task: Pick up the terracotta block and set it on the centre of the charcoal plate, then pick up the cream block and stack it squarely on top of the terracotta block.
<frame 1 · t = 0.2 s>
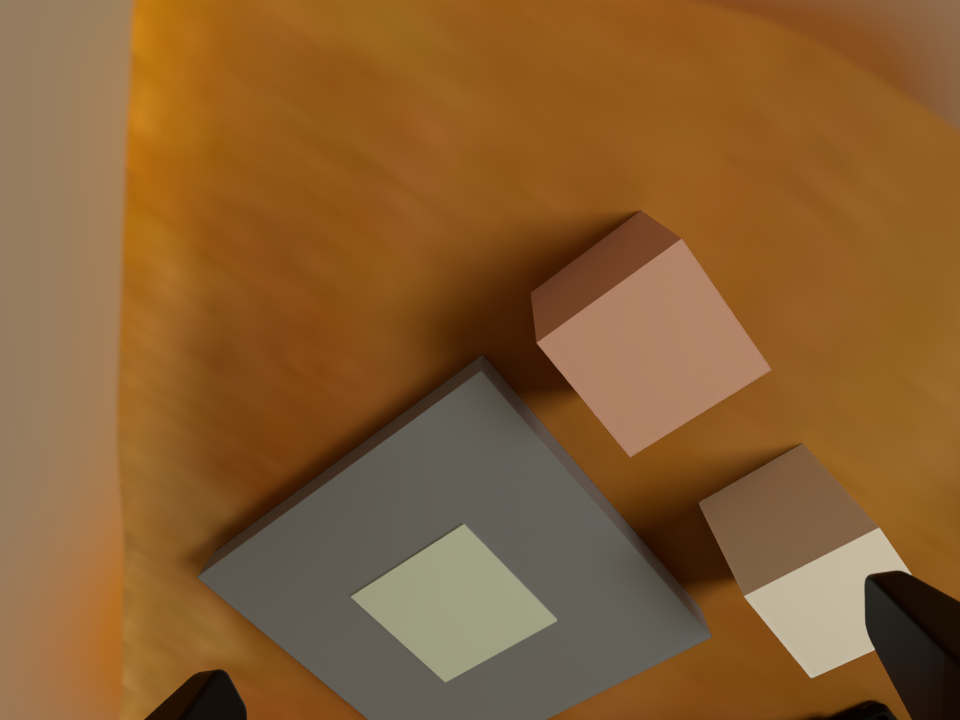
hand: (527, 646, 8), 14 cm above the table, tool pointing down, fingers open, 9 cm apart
cream block: (777, 511, 23), on the table
charcoal plate: (457, 580, 25), on the table
terracotta block: (621, 302, 20), on the table
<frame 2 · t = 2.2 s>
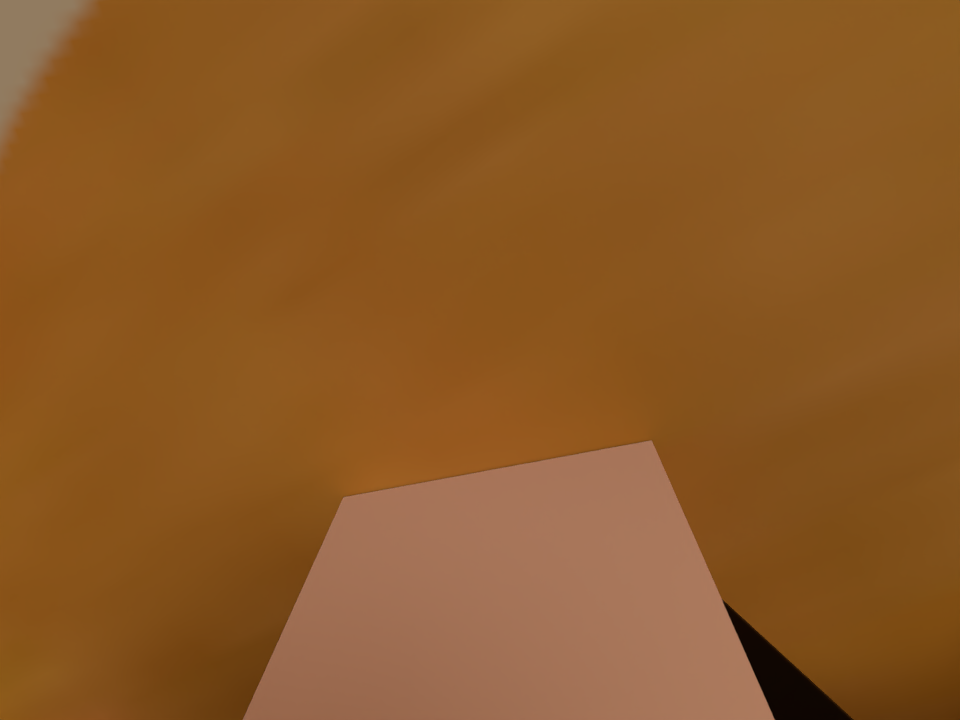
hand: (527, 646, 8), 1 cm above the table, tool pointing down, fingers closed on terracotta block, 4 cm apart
terracotta block: (525, 591, 9), on the table, touching gripper
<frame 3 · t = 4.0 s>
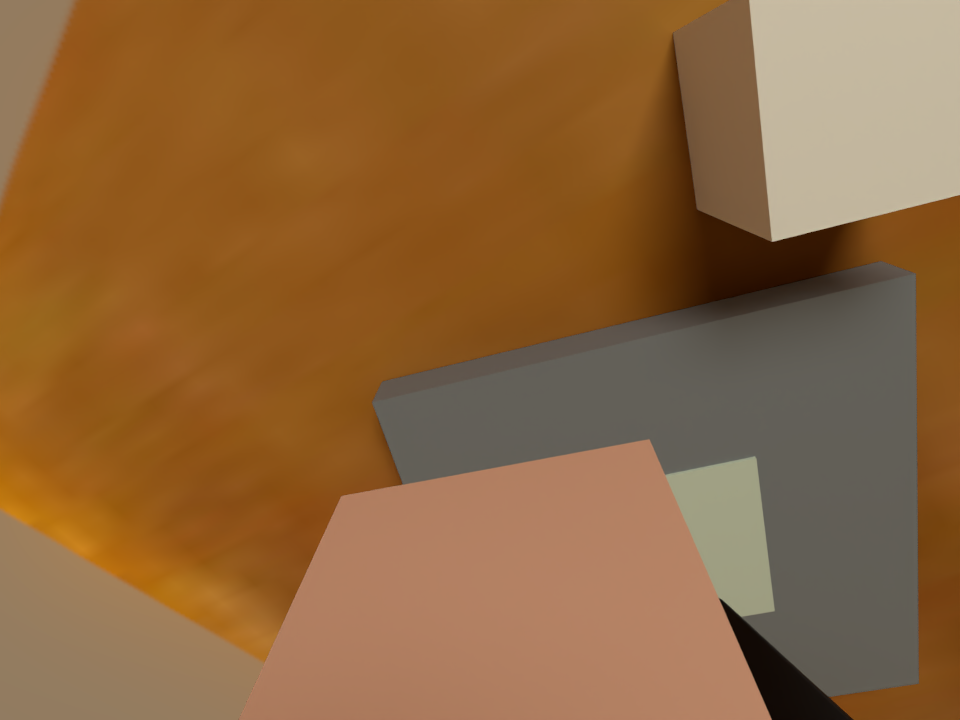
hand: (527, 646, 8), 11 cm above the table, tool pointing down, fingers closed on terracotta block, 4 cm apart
cream block: (772, 101, 15), on the table
charcoal plate: (657, 525, 20), on the table
terracotta block: (523, 590, 9), point 10 cm above the table, touching gripper
when the fingers open (4 cm above the table, at t = 6.2 s): terracotta block drops 1 cm, resting on charcoal plate.
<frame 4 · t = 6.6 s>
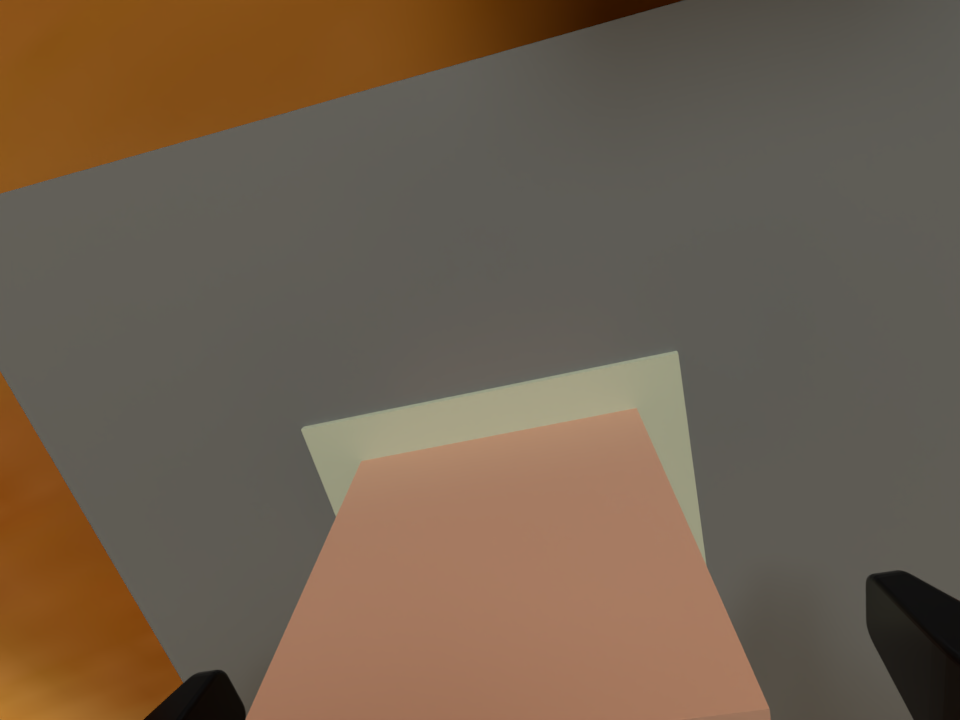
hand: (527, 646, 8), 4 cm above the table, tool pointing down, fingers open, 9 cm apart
charcoal plate: (521, 493, 12), on the table
terracotta block: (524, 547, 10), point 2 cm above the table, touching charcoal plate
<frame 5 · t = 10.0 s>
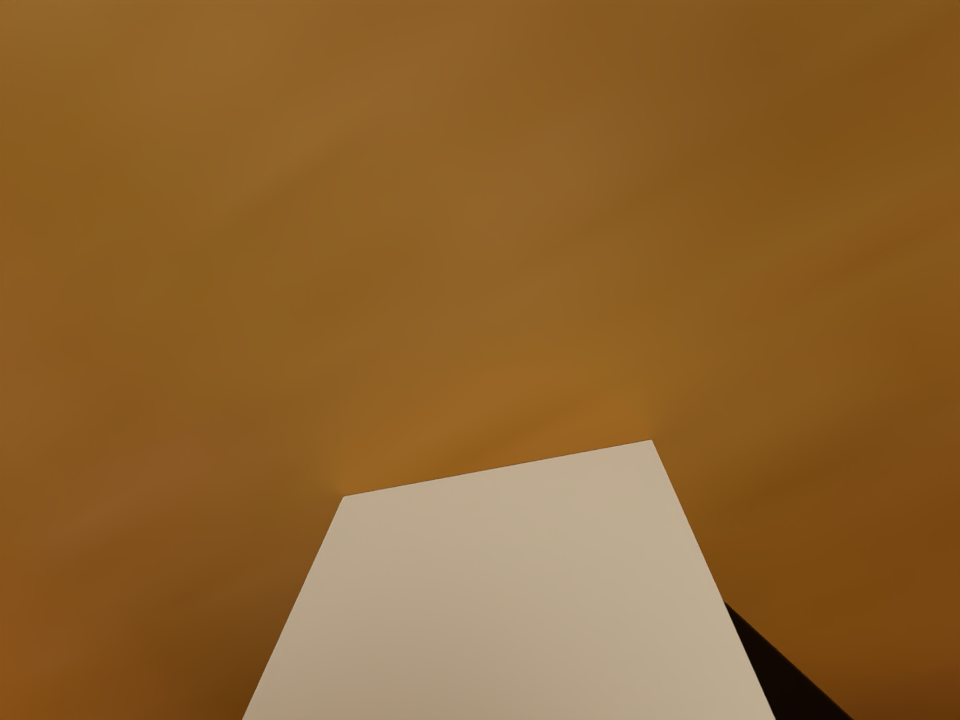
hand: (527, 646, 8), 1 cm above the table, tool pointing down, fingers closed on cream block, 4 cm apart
cream block: (525, 590, 9), on the table, touching gripper
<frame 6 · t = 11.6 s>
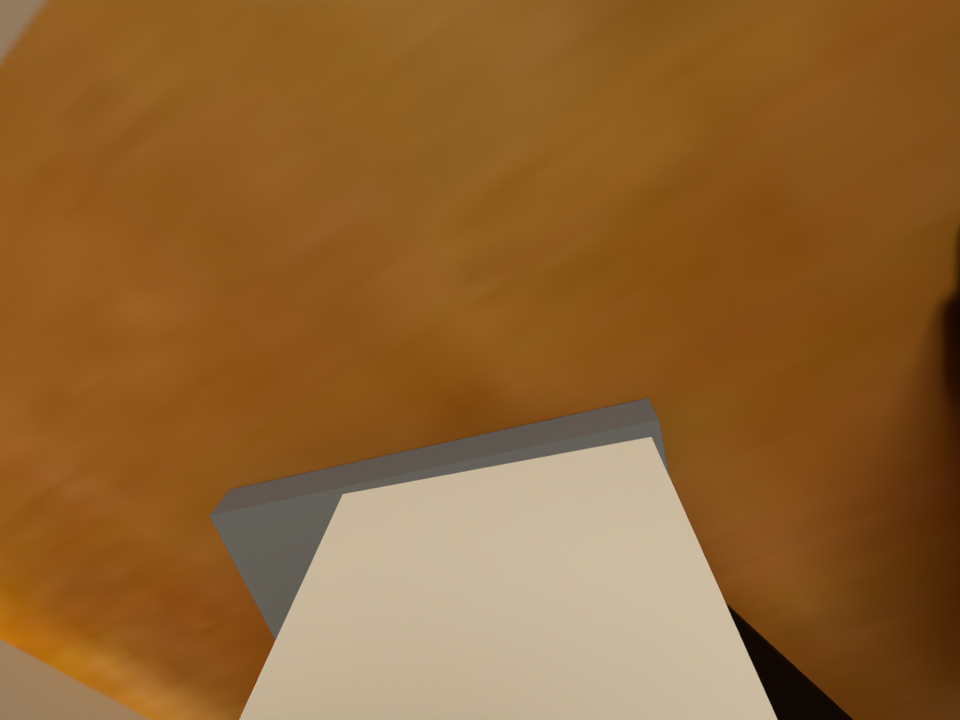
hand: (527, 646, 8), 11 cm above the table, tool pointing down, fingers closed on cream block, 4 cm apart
cream block: (525, 588, 9), point 10 cm above the table, touching gripper
charcoal plate: (485, 611, 22), on the table
when the fingers open (9 cm above the table, at t = 13.2 s): cream block drops 1 cm, resting on terracotta block.
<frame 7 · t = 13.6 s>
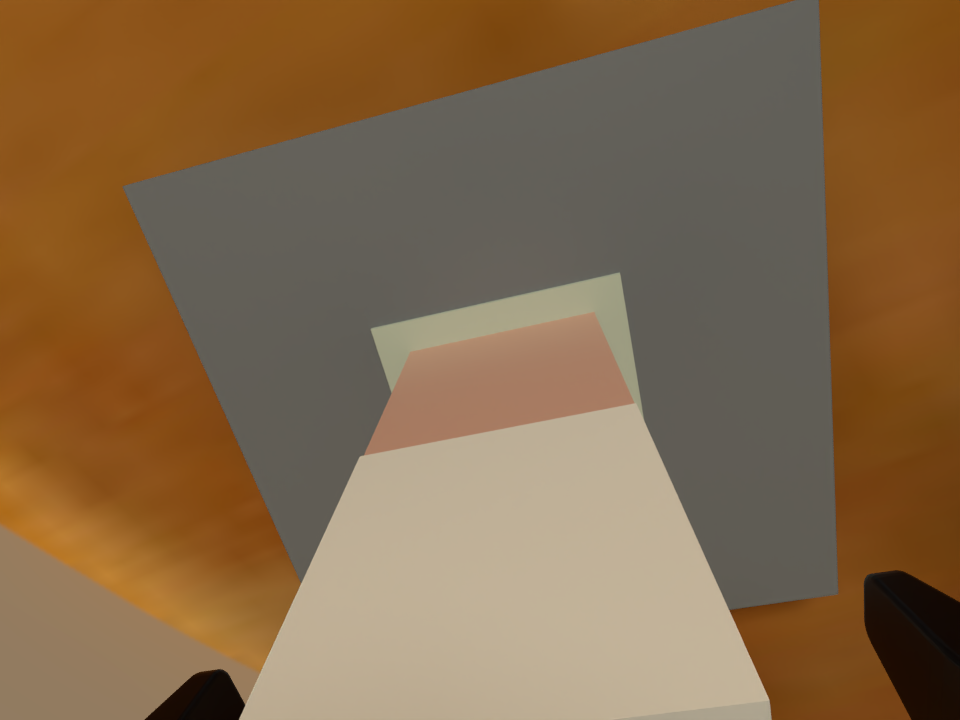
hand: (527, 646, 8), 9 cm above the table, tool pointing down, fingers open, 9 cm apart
cream block: (523, 543, 10), point 7 cm above the table, touching terracotta block
charcoal plate: (518, 387, 16), on the table
terracotta block: (520, 414, 15), point 2 cm above the table, touching charcoal plate, cream block
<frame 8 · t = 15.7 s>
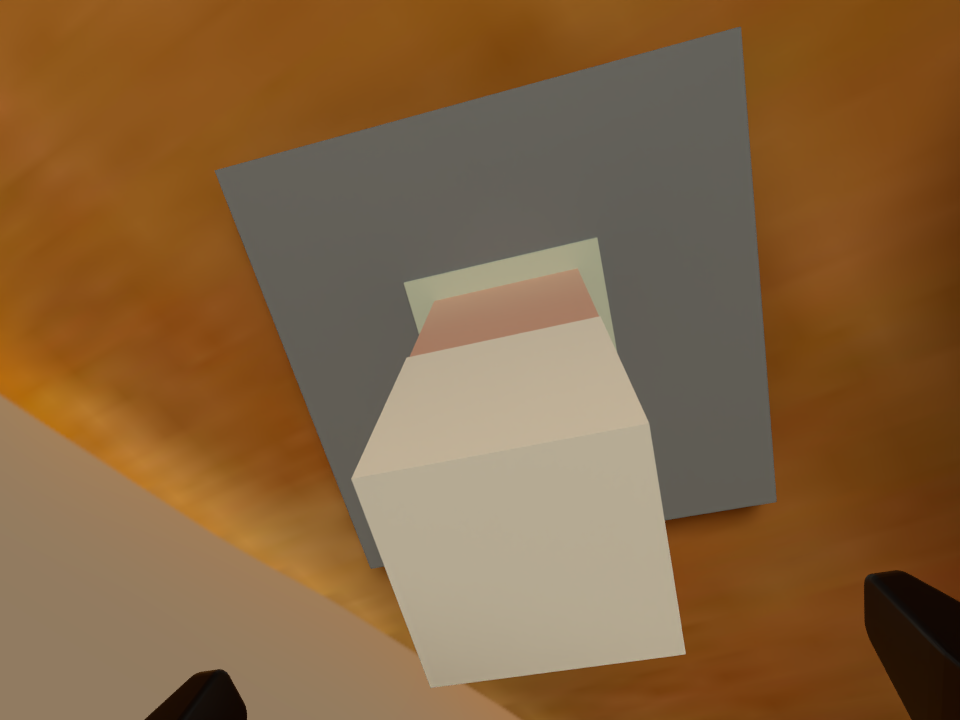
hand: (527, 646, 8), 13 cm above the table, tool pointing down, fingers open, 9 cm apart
cream block: (522, 423, 14), point 7 cm above the table, touching terracotta block
charcoal plate: (519, 334, 20), on the table
terracotta block: (520, 351, 19), point 2 cm above the table, touching charcoal plate, cream block
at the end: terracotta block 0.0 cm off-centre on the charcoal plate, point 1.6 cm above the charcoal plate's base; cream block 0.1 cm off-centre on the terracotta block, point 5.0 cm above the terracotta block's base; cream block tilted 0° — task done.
